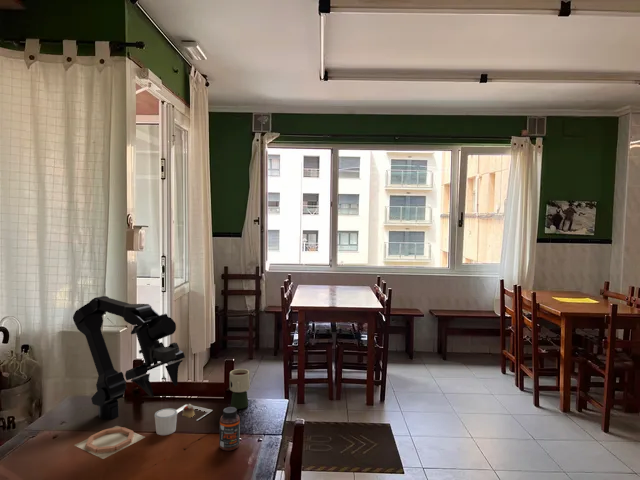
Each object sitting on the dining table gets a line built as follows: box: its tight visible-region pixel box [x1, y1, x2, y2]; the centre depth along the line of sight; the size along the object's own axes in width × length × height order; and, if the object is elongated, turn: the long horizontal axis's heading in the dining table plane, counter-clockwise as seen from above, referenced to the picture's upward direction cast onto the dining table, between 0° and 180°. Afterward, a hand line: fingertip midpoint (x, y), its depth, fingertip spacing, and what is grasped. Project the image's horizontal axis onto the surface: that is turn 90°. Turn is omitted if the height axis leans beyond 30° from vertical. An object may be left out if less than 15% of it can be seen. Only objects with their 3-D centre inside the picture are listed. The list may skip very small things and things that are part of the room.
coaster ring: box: [86, 426, 135, 453], centre depth 129 cm, size 12×12×1 cm
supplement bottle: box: [218, 406, 241, 452], centre depth 129 cm, size 6×6×11 cm
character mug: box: [229, 368, 251, 410], centre depth 156 cm, size 11×7×13 cm, turn 4°
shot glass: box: [154, 408, 178, 436], centre depth 136 cm, size 7×7×7 cm
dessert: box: [176, 403, 213, 421], centre depth 149 cm, size 12×12×5 cm
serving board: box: [73, 425, 146, 460], centre depth 129 cm, size 14×14×1 cm
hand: (164, 391), depth 135 cm, fingers open, 9 cm apart
